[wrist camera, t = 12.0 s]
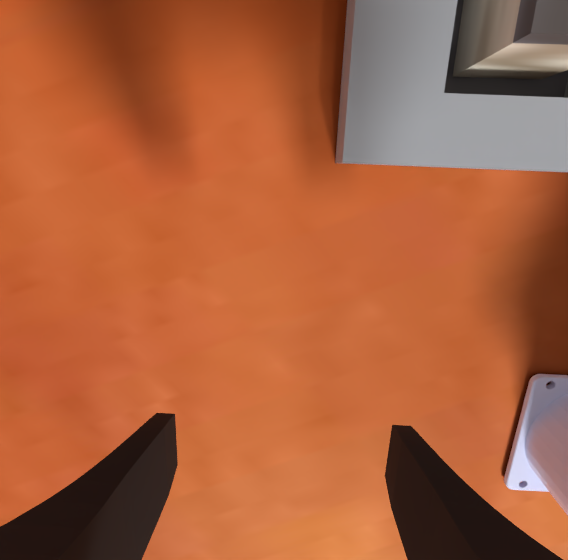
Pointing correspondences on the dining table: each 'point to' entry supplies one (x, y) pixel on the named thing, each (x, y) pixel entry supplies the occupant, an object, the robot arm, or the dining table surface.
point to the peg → (512, 39)
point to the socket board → (439, 97)
